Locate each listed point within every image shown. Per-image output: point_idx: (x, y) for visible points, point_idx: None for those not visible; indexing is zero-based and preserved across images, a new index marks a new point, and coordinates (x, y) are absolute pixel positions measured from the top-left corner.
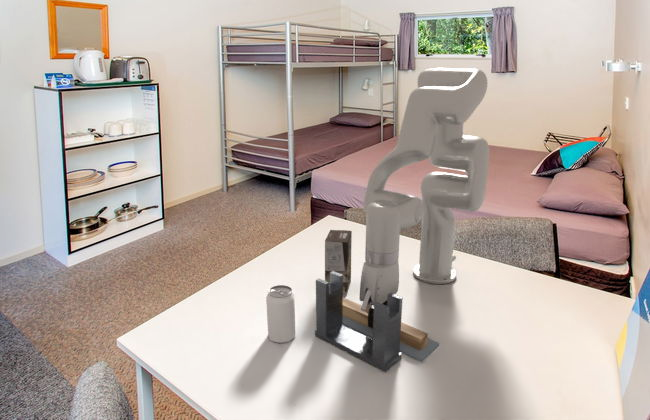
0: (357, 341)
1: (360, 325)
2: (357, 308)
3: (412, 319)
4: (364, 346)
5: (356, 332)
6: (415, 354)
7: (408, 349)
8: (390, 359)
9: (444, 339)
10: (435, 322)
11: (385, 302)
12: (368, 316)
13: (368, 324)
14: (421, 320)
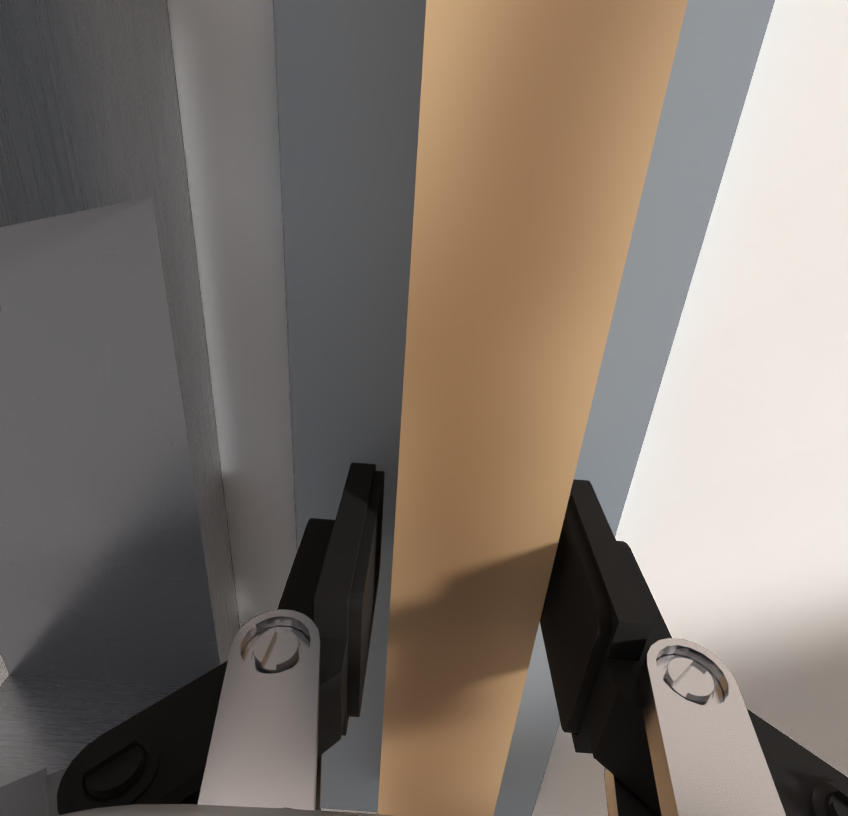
0: (75, 498)
1: (376, 336)
2: (489, 255)
3: (771, 614)
4: (75, 573)
5: (176, 418)
6: (327, 776)
7: (343, 739)
8: None
9: (604, 803)
10: (792, 729)
11: (639, 750)
12: (329, 549)
13: (346, 481)
14: (782, 662)
